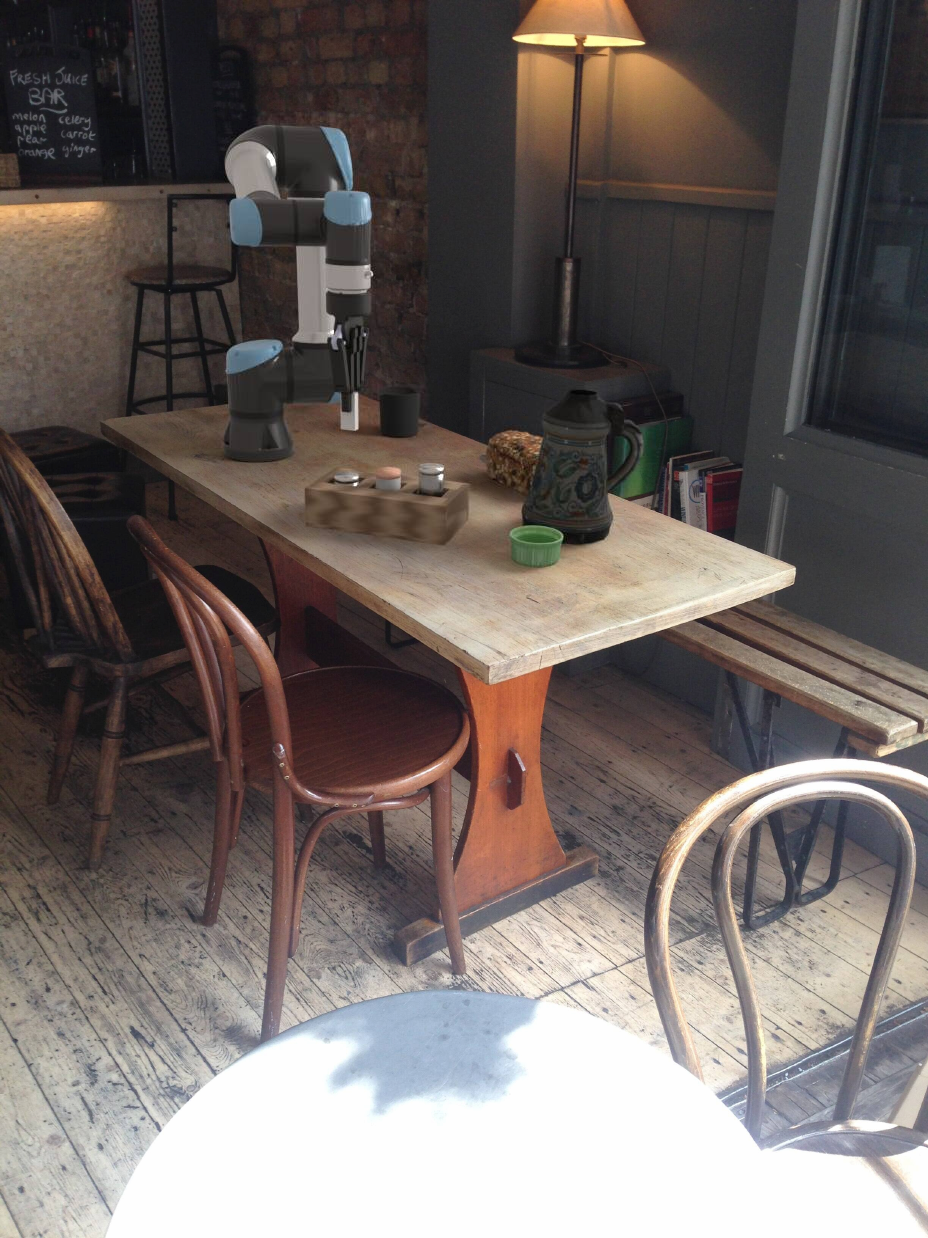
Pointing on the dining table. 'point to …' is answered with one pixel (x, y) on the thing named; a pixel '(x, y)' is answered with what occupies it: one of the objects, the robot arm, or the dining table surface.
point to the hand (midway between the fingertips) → (349, 428)
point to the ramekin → (535, 545)
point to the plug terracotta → (388, 479)
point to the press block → (387, 508)
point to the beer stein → (579, 467)
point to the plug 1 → (346, 478)
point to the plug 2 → (431, 479)
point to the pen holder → (399, 411)
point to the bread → (513, 459)
